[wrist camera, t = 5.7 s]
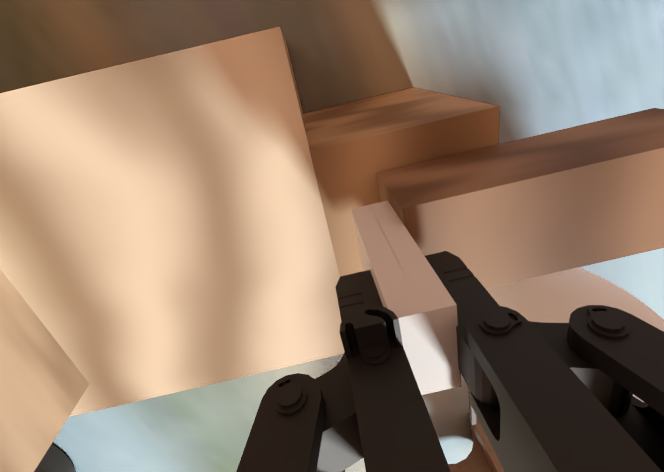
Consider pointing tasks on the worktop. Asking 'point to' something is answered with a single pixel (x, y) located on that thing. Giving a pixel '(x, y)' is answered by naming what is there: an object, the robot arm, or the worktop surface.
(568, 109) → the worktop surface
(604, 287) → the jar
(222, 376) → the lid
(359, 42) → the worktop surface
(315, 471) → the robot arm
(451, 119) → the toolbox
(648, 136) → the wooden block
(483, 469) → the wooden toy
